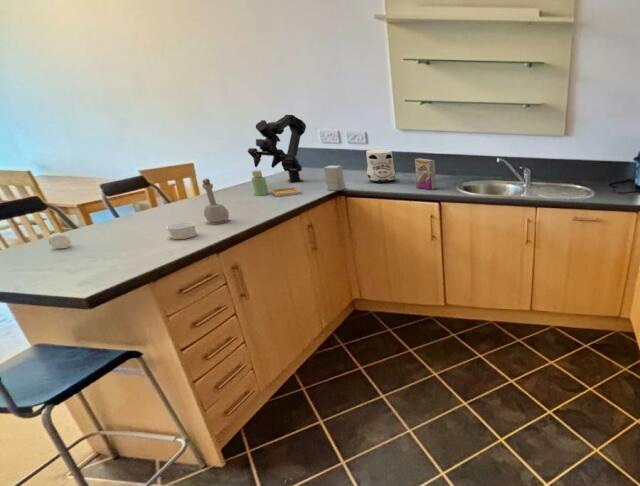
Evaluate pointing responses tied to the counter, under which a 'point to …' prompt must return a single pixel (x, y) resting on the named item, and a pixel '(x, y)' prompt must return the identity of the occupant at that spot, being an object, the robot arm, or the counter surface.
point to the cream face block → (380, 166)
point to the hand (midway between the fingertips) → (263, 167)
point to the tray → (285, 192)
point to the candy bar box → (425, 174)
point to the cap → (257, 173)
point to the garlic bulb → (59, 240)
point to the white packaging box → (334, 177)
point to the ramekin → (182, 230)
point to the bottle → (260, 185)
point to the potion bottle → (214, 206)
